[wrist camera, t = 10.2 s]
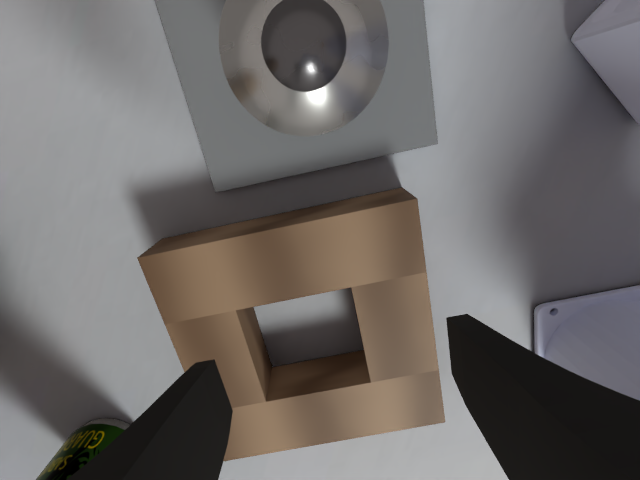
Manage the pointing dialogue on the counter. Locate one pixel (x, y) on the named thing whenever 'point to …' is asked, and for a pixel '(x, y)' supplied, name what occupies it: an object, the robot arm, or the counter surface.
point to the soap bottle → (614, 49)
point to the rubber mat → (288, 150)
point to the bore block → (299, 281)
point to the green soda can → (82, 448)
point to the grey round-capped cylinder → (304, 60)
